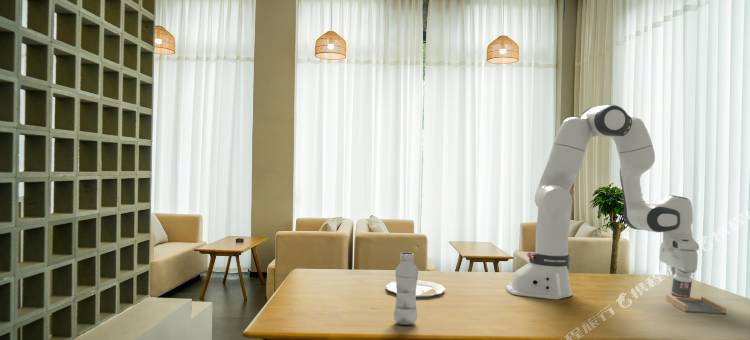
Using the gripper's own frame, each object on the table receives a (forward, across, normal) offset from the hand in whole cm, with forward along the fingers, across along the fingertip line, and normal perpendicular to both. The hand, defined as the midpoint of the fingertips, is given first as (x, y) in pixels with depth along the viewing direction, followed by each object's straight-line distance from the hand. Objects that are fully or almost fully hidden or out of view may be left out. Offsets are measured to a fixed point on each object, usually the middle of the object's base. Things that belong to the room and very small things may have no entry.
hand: (676, 279), depth 170 cm
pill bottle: (+6, +3, 0) cm, 6 cm away
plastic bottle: (+6, +50, -93) cm, 105 cm away
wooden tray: (+6, +14, 0) cm, 15 cm away
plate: (+6, +14, -92) cm, 94 cm away
